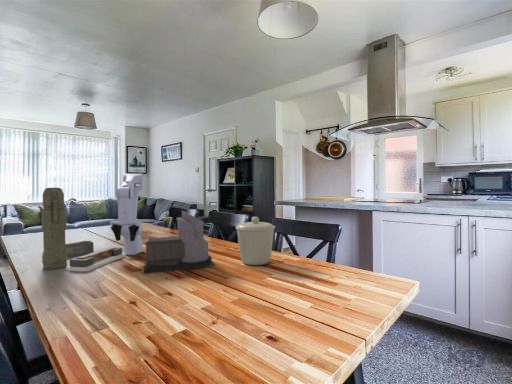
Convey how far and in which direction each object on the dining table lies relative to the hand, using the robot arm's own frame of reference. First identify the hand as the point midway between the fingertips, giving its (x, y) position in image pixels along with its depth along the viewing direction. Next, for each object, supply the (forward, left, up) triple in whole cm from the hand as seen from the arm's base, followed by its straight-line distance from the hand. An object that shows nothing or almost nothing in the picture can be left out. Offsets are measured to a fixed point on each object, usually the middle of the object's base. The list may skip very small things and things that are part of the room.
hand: (125, 240), depth 134 cm
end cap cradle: (+6, -10, -9) cm, 15 cm away
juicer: (+5, +30, -10) cm, 32 cm away
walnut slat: (+6, -10, -8) cm, 14 cm away
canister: (-6, +62, -10) cm, 63 cm away
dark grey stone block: (-4, -35, -10) cm, 36 cm away
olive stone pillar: (+15, -24, -10) cm, 30 cm away
